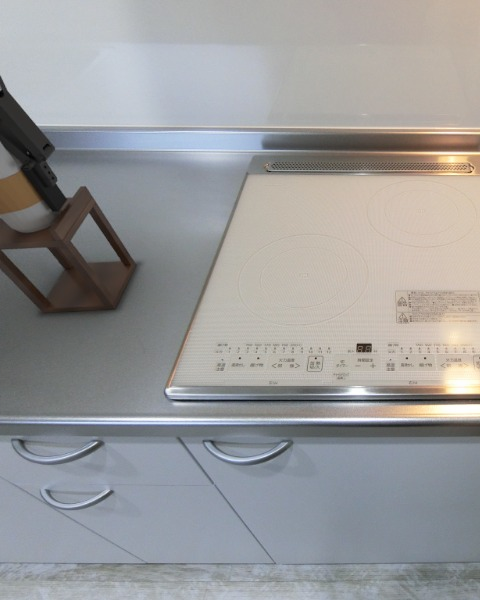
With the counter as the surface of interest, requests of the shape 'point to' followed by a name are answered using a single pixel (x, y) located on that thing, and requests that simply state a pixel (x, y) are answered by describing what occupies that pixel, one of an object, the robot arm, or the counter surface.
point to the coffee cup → (21, 197)
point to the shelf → (71, 260)
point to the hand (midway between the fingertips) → (28, 207)
